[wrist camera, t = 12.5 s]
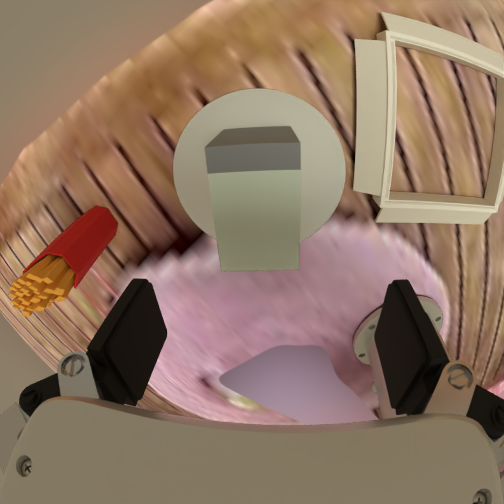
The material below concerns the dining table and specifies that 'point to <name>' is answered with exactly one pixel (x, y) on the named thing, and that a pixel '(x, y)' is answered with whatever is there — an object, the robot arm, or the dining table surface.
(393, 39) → the beige square frame
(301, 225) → the cream round plate
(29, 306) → the french fries
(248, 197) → the block
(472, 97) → the dining table surface
